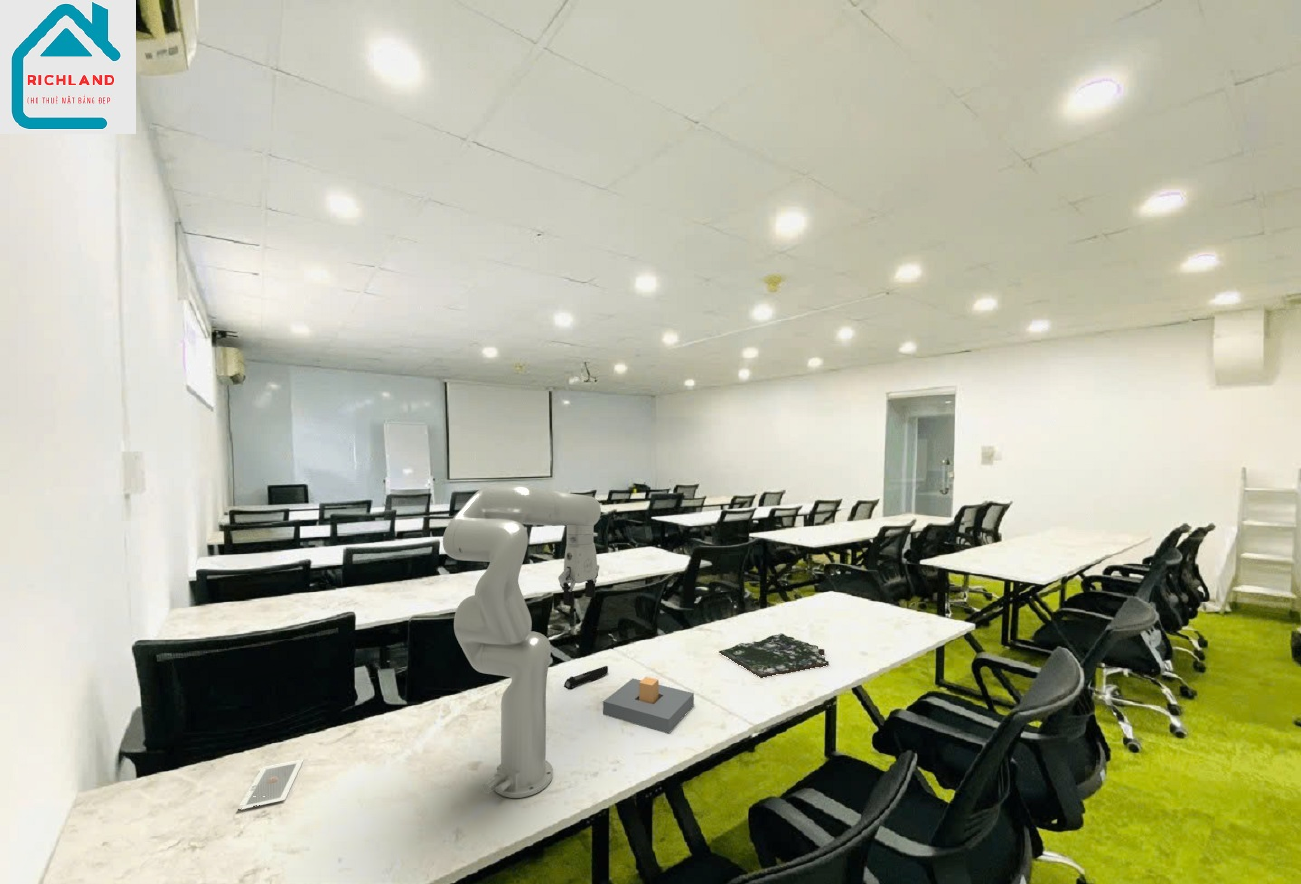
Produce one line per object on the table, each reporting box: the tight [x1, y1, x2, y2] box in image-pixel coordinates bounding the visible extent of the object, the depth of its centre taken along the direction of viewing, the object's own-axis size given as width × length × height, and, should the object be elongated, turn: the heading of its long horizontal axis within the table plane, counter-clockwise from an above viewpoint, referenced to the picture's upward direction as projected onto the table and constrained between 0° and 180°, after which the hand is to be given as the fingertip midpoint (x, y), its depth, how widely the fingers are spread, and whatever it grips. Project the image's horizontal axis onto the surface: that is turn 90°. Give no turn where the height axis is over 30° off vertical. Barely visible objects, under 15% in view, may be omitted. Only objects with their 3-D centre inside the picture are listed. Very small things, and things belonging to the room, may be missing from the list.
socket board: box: [602, 678, 695, 734], centre depth 136 cm, size 16×20×4 cm
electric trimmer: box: [563, 665, 609, 691], centre depth 155 cm, size 4×16×3 cm, turn 132°
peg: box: [639, 676, 660, 704], centre depth 136 cm, size 4×4×8 cm
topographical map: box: [718, 633, 830, 679], centre depth 172 cm, size 26×33×3 cm
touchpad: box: [239, 758, 305, 810], centre depth 105 cm, size 8×15×2 cm, turn 23°
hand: (579, 601), depth 138 cm, fingers open, 9 cm apart
